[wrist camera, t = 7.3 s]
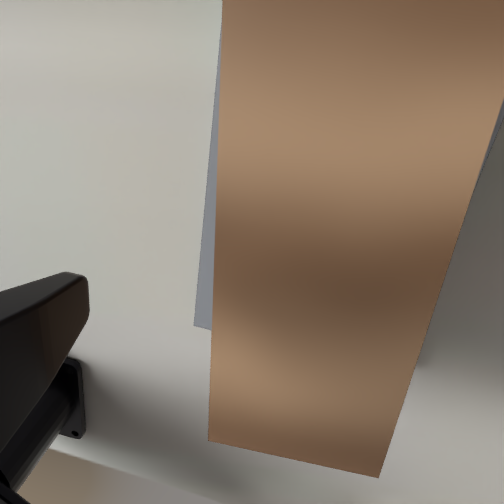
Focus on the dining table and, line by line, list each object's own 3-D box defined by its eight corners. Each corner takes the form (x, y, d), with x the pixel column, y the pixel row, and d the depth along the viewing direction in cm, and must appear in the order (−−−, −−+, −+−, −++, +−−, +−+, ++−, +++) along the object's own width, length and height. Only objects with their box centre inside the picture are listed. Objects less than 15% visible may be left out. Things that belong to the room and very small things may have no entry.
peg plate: (396, 360, 21) (405, 426, 17) (199, 314, 22) (172, 367, 19) (565, -65, 13) (647, -100, 9) (241, -106, 14) (205, -152, 10)
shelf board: (371, 385, 17) (378, 478, 13) (235, 359, 18) (208, 440, 14) (489, -44, 10) (563, -83, 7) (264, -56, 11) (225, -96, 8)
